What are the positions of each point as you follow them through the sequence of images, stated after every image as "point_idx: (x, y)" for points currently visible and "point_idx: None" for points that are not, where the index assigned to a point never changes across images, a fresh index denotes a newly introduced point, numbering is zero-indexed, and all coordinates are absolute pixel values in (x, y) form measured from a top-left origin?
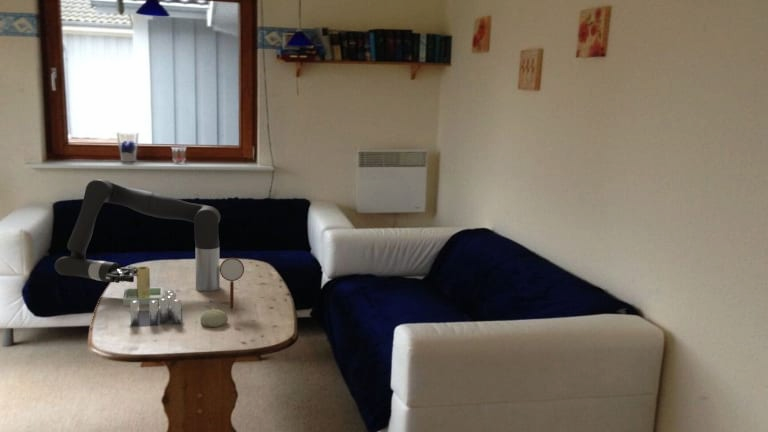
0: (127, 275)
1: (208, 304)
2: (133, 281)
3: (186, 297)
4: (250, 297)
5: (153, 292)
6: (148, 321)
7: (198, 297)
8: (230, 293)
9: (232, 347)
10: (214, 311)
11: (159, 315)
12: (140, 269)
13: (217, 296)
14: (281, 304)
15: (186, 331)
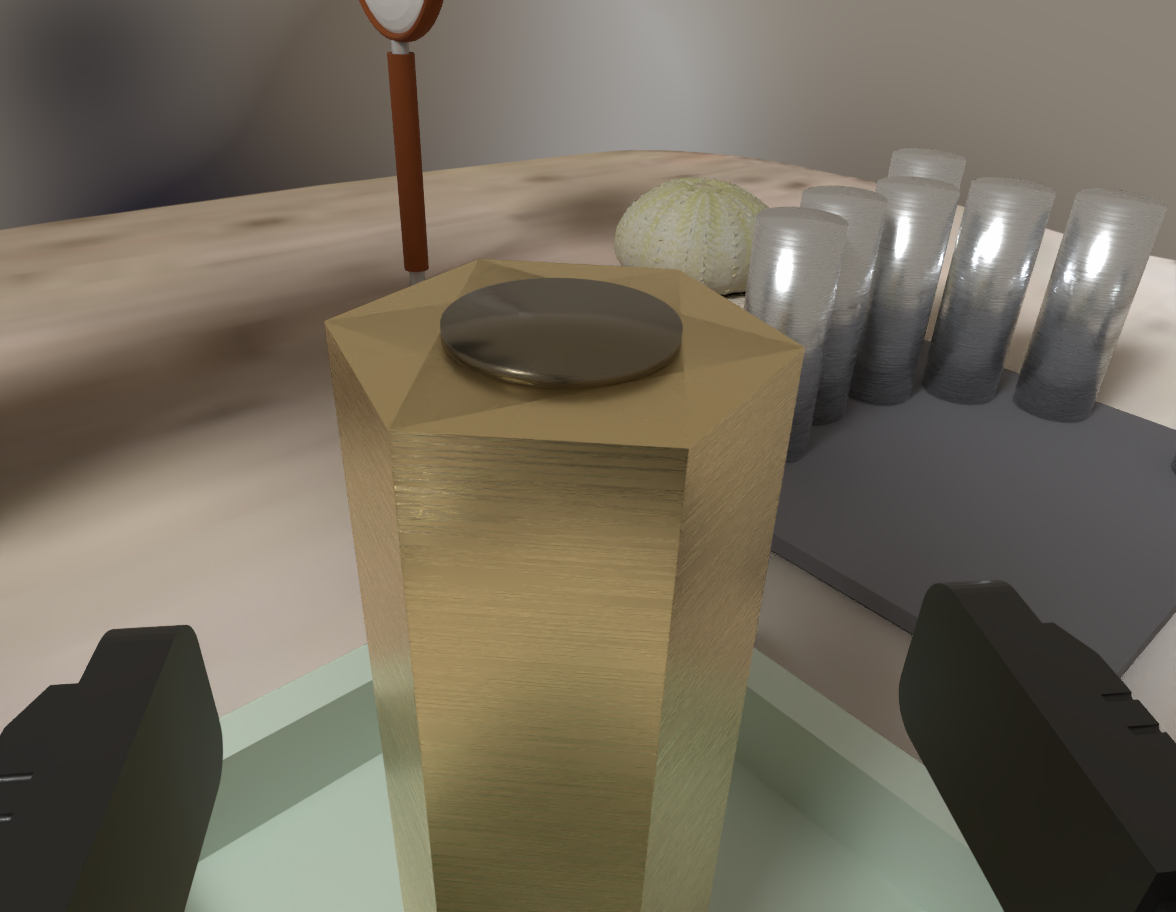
0: (1089, 757)
1: (330, 395)
2: (909, 694)
3: (129, 603)
4: (37, 307)
5: None
6: (1065, 448)
7: (103, 520)
8: (419, 152)
9: (870, 190)
10: (705, 188)
11: (1012, 335)
12: (745, 319)
13: (33, 432)
14: (183, 215)
15: None
